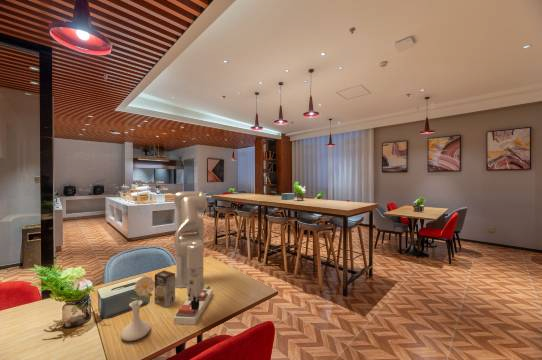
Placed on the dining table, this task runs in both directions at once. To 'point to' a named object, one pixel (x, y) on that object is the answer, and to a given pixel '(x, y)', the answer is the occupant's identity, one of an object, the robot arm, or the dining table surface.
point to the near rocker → (186, 309)
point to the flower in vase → (137, 325)
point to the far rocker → (202, 295)
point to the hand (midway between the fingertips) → (195, 308)
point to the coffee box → (164, 288)
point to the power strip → (192, 318)
